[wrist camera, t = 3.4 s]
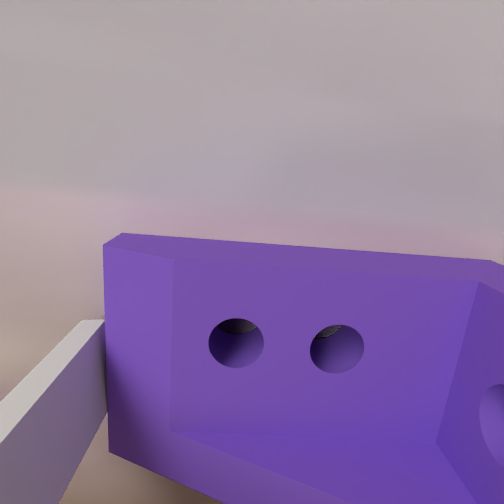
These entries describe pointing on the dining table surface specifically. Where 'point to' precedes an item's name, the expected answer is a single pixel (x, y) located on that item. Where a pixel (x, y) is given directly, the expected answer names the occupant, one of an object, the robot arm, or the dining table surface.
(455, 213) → the dining table surface
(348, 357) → the bracket
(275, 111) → the dining table surface
